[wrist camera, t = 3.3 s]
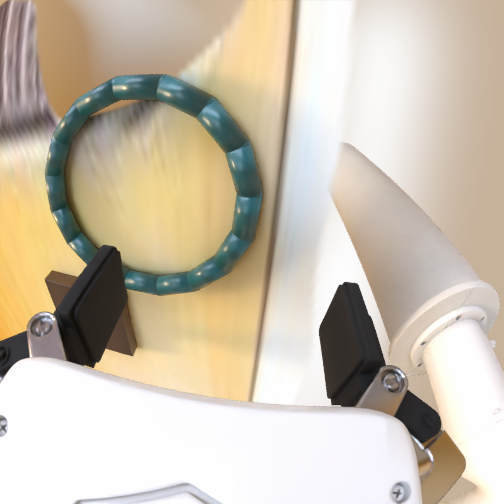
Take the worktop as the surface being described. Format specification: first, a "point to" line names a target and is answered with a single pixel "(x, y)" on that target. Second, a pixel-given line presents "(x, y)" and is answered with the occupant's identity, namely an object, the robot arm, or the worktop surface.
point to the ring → (221, 132)
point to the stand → (123, 331)
